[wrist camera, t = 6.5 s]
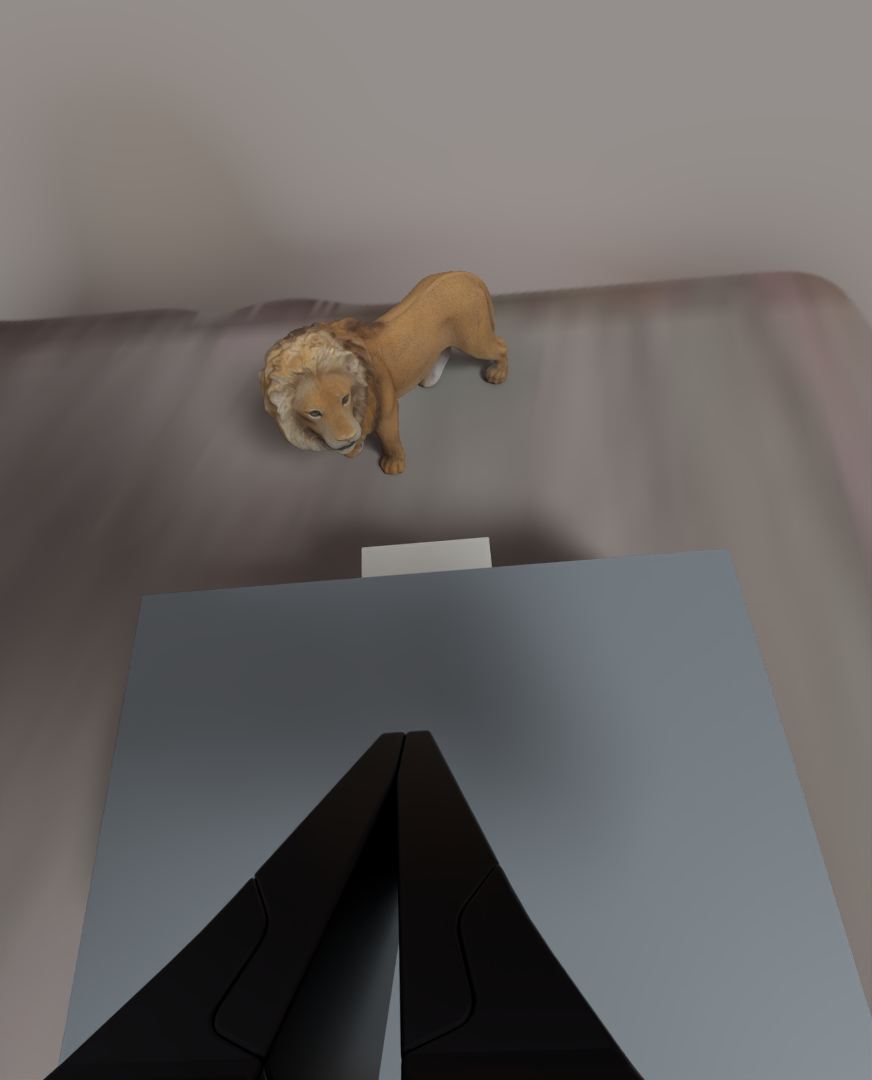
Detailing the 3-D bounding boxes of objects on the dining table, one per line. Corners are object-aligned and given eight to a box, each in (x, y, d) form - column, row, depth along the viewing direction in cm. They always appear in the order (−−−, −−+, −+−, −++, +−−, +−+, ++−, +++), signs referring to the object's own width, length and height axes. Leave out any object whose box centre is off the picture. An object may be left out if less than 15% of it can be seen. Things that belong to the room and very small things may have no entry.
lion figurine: (370, 545, 24) (312, 409, 16) (289, 495, 26) (202, 351, 18) (530, 355, 29) (546, 182, 21) (453, 325, 31) (441, 156, 23)
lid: (854, 1061, 11) (894, 1095, 10) (88, 1081, 12) (49, 1114, 11) (703, 533, 16) (719, 517, 15) (168, 577, 17) (147, 565, 16)
